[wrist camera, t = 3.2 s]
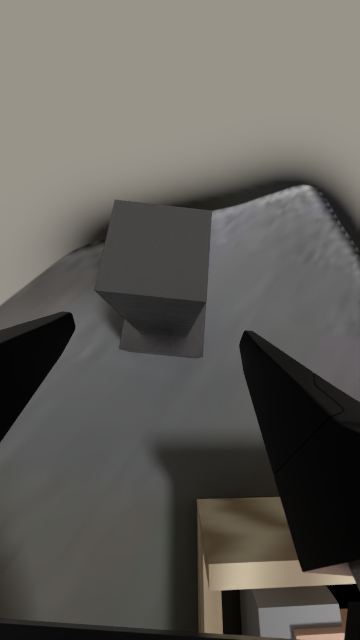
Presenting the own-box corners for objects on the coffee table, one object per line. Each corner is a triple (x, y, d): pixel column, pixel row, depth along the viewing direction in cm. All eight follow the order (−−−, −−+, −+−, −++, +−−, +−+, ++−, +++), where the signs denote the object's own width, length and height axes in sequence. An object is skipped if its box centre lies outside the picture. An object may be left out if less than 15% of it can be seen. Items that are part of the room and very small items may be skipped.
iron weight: (196, 358, 19) (248, 347, 6) (130, 351, 18) (39, 327, 6) (200, 296, 20) (247, 186, 8) (139, 290, 20) (86, 167, 8)
